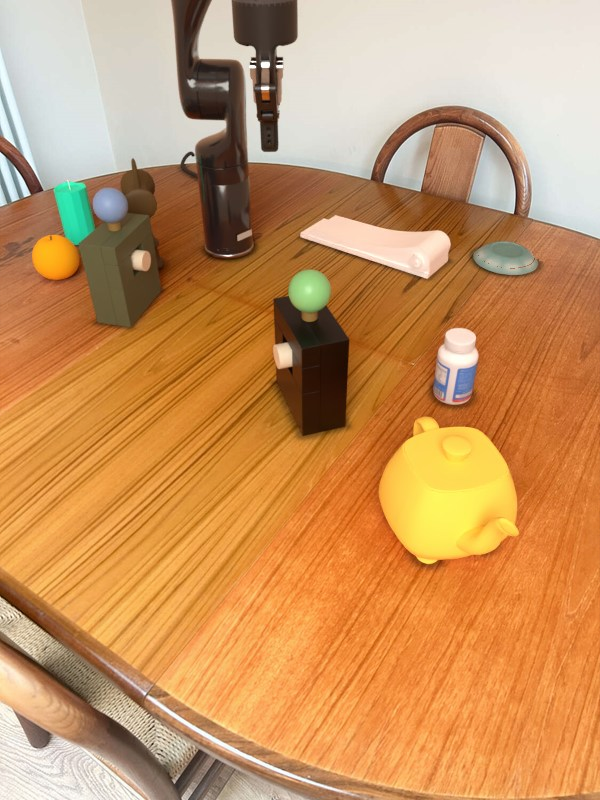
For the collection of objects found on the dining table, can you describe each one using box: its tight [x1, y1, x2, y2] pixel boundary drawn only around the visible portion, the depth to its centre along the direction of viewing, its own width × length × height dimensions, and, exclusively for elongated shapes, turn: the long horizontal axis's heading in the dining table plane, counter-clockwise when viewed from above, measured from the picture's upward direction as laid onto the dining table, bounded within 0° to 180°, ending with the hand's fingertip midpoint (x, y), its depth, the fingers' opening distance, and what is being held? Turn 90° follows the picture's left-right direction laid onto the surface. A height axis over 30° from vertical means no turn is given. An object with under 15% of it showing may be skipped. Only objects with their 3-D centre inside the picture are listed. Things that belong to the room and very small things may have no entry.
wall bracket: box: [300, 214, 451, 280], centre depth 124 cm, size 10×7×28 cm
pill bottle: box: [432, 327, 479, 406], centre depth 89 cm, size 6×5×10 cm
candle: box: [53, 178, 96, 246], centre depth 127 cm, size 6×6×12 cm
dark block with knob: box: [272, 268, 350, 437], centre depth 84 cm, size 6×12×20 cm, turn 18°
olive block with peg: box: [78, 186, 162, 328], centre depth 104 cm, size 6×12×20 cm, turn 165°
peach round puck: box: [130, 250, 151, 271], centre depth 104 cm, size 2×3×3 cm
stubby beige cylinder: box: [272, 342, 292, 369], centre depth 84 cm, size 2×3×3 cm
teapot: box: [378, 416, 520, 565], centre depth 69 cm, size 14×20×13 cm
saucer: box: [472, 240, 539, 276], centre depth 122 cm, size 12×12×2 cm
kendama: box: [120, 157, 165, 270], centre depth 115 cm, size 6×10×20 cm, turn 13°
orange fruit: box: [31, 234, 81, 281], centre depth 117 cm, size 8×8×8 cm
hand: (270, 149), depth 85 cm, fingers closed
